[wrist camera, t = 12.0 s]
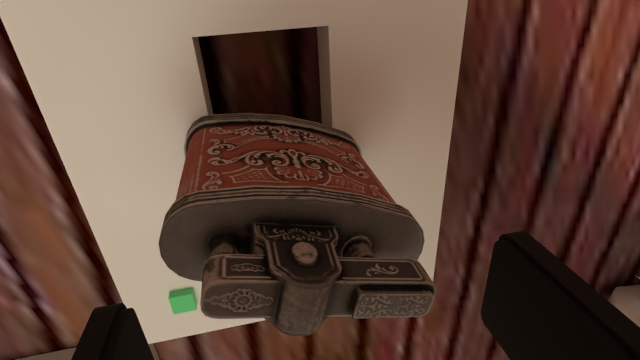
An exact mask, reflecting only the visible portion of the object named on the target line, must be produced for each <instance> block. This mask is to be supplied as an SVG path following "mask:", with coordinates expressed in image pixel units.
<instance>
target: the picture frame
mask: <svg viewBox="0 0 640 360" xmlns="http://www.w3.org/2000/svg"><path fill="white" fill-rule="evenodd" d="M148 345H149V347H150V350H151V352H152V355H153V357H154V360H160V359H159V357H158V354H157V352H156V349H155V347H154V344H153V343H151V344H148ZM75 350H76V347H75V348H70V349H65V350H60V351H55V352H50V353H45V354H40V355H35V356H30V357H25V358H20V359H15V360H71V359H72V356H73V354H74V352H75Z"/></svg>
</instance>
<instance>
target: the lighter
mask: <svg viewBox="0 0 640 360" xmlns="http://www.w3.org/2000/svg"><path fill="white" fill-rule="evenodd" d="M184 154H185V163H184V167H183V171H182V175H181V179H180V183H179V188H178V192H177V196H176V200H175V202H174V203H173V204H172V205H171V207H170V208H169V210H168V211H167V213H166V214H165V218H164V222H163V226H162V229H161V234H160V238H159V243H158V244H159V249H160V255H161V257H162V259H163V261H164V262H165V264H166V265H167V267H168V268H169V269H170V270H172V271H173V272H174V273H176V274H177V275H178V276H181V277H184V278H187V279H190V280H194V281H201V282H202V290H201V301H200V306H201V311H202V313H203V314H204V315H205V316H207V317H210V318H214V319H246V318H264V319H266V320H267V321H269V322H271V323H273V324H274V325H275V327H276V328H277V329H278V330H279V331H281V332H282V333H285V334H288V335H291V336H301V335H311V334H313V333H315V332H317V331H318V329H319V328H320V326H321V324H322V322H323V321H324V320H326V319H327V318H328V317H344V316H352V318H393V317H420V316H424V315H426V314H427V313H428V312H429V310H430V309H431V306H432V304H433V301H434V298H435V295H436V291H437V289H436V286H435V284H434V283H433V281H432V280H431V278H430V277H429V275H428V274H427V272H426V271H425V270H424V268H423V267H422V265H421V264H420V262H418V261H417V260H418V258H419V256H420V254H421V253H422V250H423V245H424V241H425V240H424V233H423V229H422V228H421V226H420V225H419V223H418V222H417V221H416V219H415V218H414V217H413V215H412V214H411V213H410V212H409V210H408V209H406V208H404V207H403V206H401V205H398V204H396V202H395V201H394V200H393V198H392V197H391V196H390V194H389V193H388V192H387V190H386V189H385V188H384V186H383V185H382V184H381V182H380V181H379V180H378V178H377V177H376V175H375V174H374V173H373V171H372V170H371V169H370V167H369V166H368V165H367V163H366V162H365V161H364V159H363V158H362V154H361V150H360V147H359V146H358V145H357V143H356V142H355V140H354V139H353V138H352V137H351V135H349V134H348V133H346V132H344V131H341V130H338V129H335V128H332V127H329V126H326V125H323V124H320V123H317V122H313V121H308V120H303V119H299V118H294V117H289V116H284V115H272V114H256V113H232V114H213V115H206V116H202V117H200V118H199V119H197V120H196V121H194V122H193V123H192V125H191V126H190V128H189V129H188V132H187V135H186V139H185V144H184Z"/></svg>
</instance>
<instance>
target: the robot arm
mask: <svg viewBox="0 0 640 360" xmlns="http://www.w3.org/2000/svg"><path fill="white" fill-rule="evenodd" d="M481 317H482V320H483V322H484V324H485V326H486V327H487V328H488V330H489V331H490V332H491V334H492V335H493V337H494V338H495V339H496V341H497V342H498V343H499V345H500V346H501V347H502V349H503V350H504V351H505V353H506V354H507V356H508V357H509V358H510V360H640V327H639V326H638V325H636V324H635V323H634V322H633V321H632V320H630V319H629V318H628V317H627V316H626V315H624V314H623V313H622V312H621V311H620V310H619V309H617V308H616V307H615V306H614V305H613V304H611V303H610V302H609V301H608V300H607V299H605V298H604V297H603V296H602V295H601V294H599V293H598V292H597V291H596V290H595V289H594V288H592V287H591V286H590V285H589V284H588V283H586V282H585V281H584V280H583V279H582V278H580V277H579V276H578V275H577V274H576V273H575V272H573V271H572V270H571V269H570V268H569V267H567V266H566V265H565V264H564V263H563V262H561V261H560V260H559V259H558V258H557V257H556V256H554V255H553V254H552V253H551V252H550V251H548V250H547V249H546V248H545V247H544V246H542V245H541V244H540V243H539V242H538V241H536V240H535V239H534V238H533V237H532V236H531V235H529V234H528V233H526V232H524V231H520V232H514V233H508V234H503V235H501V236H500V237H499V240H498V241H496V242H495V244H494V248H493V253H492V258H491V263H490V268H489V273H488V278H487V283H486V288H485V293H484V298H483V303H482V308H481ZM71 360H154V357H153V355H152V352H151V350H150V347H149V345H148V342H147V340H146V337H145V335H144V332H143V330H142V327H141V325H140V322H139V320H138V317H137V315H136V312H135V310H134V309H133V308H126V306H125V304H123V303H119V304H114V305H108V306H102V307H97V308H95V309H94V310H93V312H92V313H91V316H90V318H89V320H88V322H87V325H86V327H85V329H84V331H83V334H82V336H81V338H80V340H79V343H78V345H77V347H76V350H75V352H74V354H73V356H72V359H71Z"/></svg>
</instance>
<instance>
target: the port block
mask: <svg viewBox="0 0 640 360" xmlns="http://www.w3.org/2000/svg"><path fill="white" fill-rule="evenodd" d="M467 4H468V0H0V17H1V19H2V21H3V24H4V26H5V28H6V31H7V33H8V35H9V38H10V40H11V42H12V45H13V47H14V49H15V52H16V54H17V56H18V59H19V61H20V63H21V66H22V68H23V70H24V73H25V75H26V77H27V80H28V82H29V84H30V87H31V89H32V91H33V94H34V96H35V98H36V101H37V103H38V105H39V108H40V110H41V112H42V115H43V117H44V119H45V122H46V124H47V126H48V129H49V131H50V133H51V136H52V138H53V140H54V143H55V145H56V147H57V150H58V152H59V154H60V157H61V159H62V161H63V164H64V166H65V168H66V171H67V173H68V175H69V178H70V180H71V182H72V185H73V187H74V189H75V192H76V194H77V196H78V199H79V201H80V203H81V205H82V208H83V210H84V212H85V215H86V217H87V219H88V222H89V224H90V226H91V229H92V231H93V233H94V236H95V238H96V240H97V243H98V245H99V247H100V250H101V252H102V254H103V257H104V259H105V261H106V264H107V266H108V268H109V271H110V273H111V275H112V278H113V280H114V282H115V285H116V287H117V289H118V292H119V294H120V296H121V299H122V301H123V303H124V304H125V306H126V308H133V309H134V310H135V312H136V315H137V317H138V320H139V322H140V325H141V327H142V330H143V332H144V335H145V337H146V340H147V342H148V344H151V343H156V342H161V341H166V340H171V339H176V338H181V337H185V336H190V335H195V334H200V333H205V332H210V331H214V330H219V329H224V328H229V327H234V326H239V325H243V324H248V323H253V322H258V321H263V320H266V319H264V318H246V319H214V318H210V317H207V316H205V315H204V314H203V313H202V311H201V306H200V301H201V290H202V282H201V281H194V280H190V279H187V278H184V277H181V276H178V275H177V274H176V273H174V272H173V271H172V270H170V269H169V268H168V267H167V265H166V264H165V262H164V261H163V259H162V257H161V255H160V249H159V244H158V243H159V238H160V234H161V229H162V226H163V222H164V218H165V214H166V213H167V211H168V210H169V208H170V207H171V205H172V204H173V203H174V202H175V200H176V196H177V192H178V188H179V183H180V179H181V175H182V171H183V167H184V163H185V154H184V144H185V139H186V135H187V132H188V129H189V128H190V126H191V125H192V123H193V122H194V121H196V120H197V119H199V118H200V117H202V116H206V115H213V109H212V104H211V99H210V94H209V89H208V84H207V79H206V74H205V69H204V64H203V59H202V54H201V49H200V44H199V39H198V37H199V36H211V35H223V34H235V33H247V32H259V31H271V30H283V29H295V28H307V27H317V41H318V60H319V78H320V97H321V116H322V124H323V125H326V126H329V127H332V128H335V129H338V130H341V131H344V132H346V133H348V134H349V135H351V137H352V138H353V139H354V140H355V142H356V143H357V145H358V146H359V147H360V150H361V154H362V158H363V159H364V161H365V162H366V163H367V165H368V166H369V167H370V169H371V170H372V171H373V173H374V174H375V175H376V177H377V178H378V180H379V181H380V182H381V184H382V185H383V186H384V188H385V189H386V190H387V192H388V193H389V194H390V196H391V197H392V198H393V200H394V201H395V202H396V204H398V205H401V206H403V207H404V208H406V209H408V210H409V212H410V213H411V214H412V215H413V217H414V218H415V219H416V221H417V222H418V223H419V225H420V226H421V228H422V229H423V233H424V240H425V241H424V245H423V250H422V253H421V254H420V256H419V258H418V260H417V261H418V262H420V264H421V265H422V267H423V268H424V270H425V271H426V272H427V274H428V275H429V277H430V278H431V280H432V281H433V276H434V268H435V260H436V252H437V244H438V236H439V228H440V220H441V212H442V204H443V196H444V188H445V180H446V172H447V164H448V156H449V148H450V140H451V132H452V124H453V116H454V108H455V100H456V92H457V84H458V76H459V68H460V60H461V52H462V44H463V36H464V28H465V20H466V12H467Z"/></svg>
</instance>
